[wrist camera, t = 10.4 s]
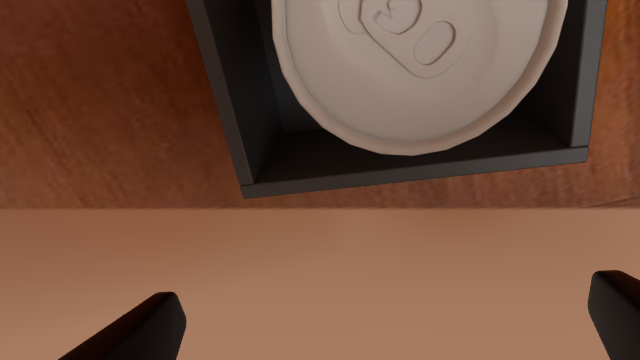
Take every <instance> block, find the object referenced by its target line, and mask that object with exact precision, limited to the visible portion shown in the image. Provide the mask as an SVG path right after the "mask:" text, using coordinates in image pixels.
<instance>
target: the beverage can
mask: <svg viewBox="0 0 640 360" xmlns="http://www.w3.org/2000/svg"><path fill="white" fill-rule="evenodd" d="M271 4H272V33H273V41H274V45H275V48H276V52H277V55H278V59H279V63H280V66H281V70H282V73H283V75H284V77H285V79H286V80H287V82H288V84H289V86H290V87H291V89H292V91H293V93H294V95H295V96H296V98H297V100H298V102H299V103H300V104H301V105H302V106H303V108H304V109H305V110H306V111H307V112H308V113H309V114H310V115H311V116H312V117H313V118H314V119H315V120H316V121H317V122H318V123H319V124H320V125H321V126H322V127H323V128H324V129H326V130H328V131H329V132H331V133H332V134H334V135H336V136H337V137H339V138H341V139H342V140H344V141H345V142H347V143H349V144H351V145H354V146H357V147H360V148H363V149H367V150H370V151H373V152H376V153H379V154H392V155H410V156H414V155H420V154H425V153H431V152H437V151H442V150H447V149H449V148H452V147H454V146H456V145H459V144H461V143H463V142H466V141H468V140H470V139H472V138H475V137H477V136H479V135H481V134H482V133H483V132H485V131H486V130H488V129H489V128H490V127H492V126H493V125H495V124H496V123H497V122H499V121H500V120H501V119H503V118H504V117H506V116H507V115H508V114H510V113H511V111H512V110H513V109H514V108H515V107H516V106H517V105H518V104H519V102H520V101H521V100H522V99H523V98H524V97H525V96H526V94H527V93H528V92H529V91H530V90H531V89H532V88H533V87H534V85H535V84H536V83H537V81H538V79H539V77H540V75H541V74H542V72H543V70H544V68H545V66H546V65H547V63H548V61H549V59H550V57H551V56H552V54H553V52H554V50H555V48H556V46H557V42H558V39H559V35H560V31H561V28H562V24H563V20H564V17H565V13H566V9H567V6H568V0H271Z"/></svg>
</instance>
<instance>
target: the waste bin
mask: <svg viewBox="0 0 640 360" xmlns="http://www.w3.org/2000/svg"><path fill="white" fill-rule="evenodd" d="M607 1H608V0H568V6H567V9H566V13H565V17H564V20H563V24H562V28H561V31H560V35H559V39H558V42H557V46H556V48H555V50H554V52H553V54H552V56H551V57H550V59H549V61H548V63H547V65H546V66H545V68H544V70H543V72H542V74H541V75H540V77H539V79H538V81H537V83H536V84H535V85H534V87H533V88H532V89H531V90H530V91H529V92H528V93H527V94H526V96H525V97H524V98H523V99H522V100H521V101H520V102H519V104H518V105H517V106H516V107H515V108H514V109H513V110H512V111H511V113H510V114H508V115H507V116H506V117H504V118H503V119H501V120H500V121H499V122H497V123H496V124H495V125H493V126H492V127H490V128H489V129H488V130H486V131H485V132H483V133H482V134H481V135H479V136H477V137H475V138H472V139H470V140H468V141H466V142H463V143H461V144H459V145H456V146H454V147H452V148H449V149H447V150H442V151H437V152H431V153H425V154H420V155H414V156H410V155H392V154H379V153H376V152H373V151H370V150H367V149H363V148H360V147H357V146H354V145H351V144H349V143H347V142H345V141H344V140H342V139H341V138H339V137H337V136H336V135H334V134H332V133H331V132H329V131H328V130H326V129H324V128H323V127H322V126H321V125H320V124H319V123H318V122H317V121H316V120H315V119H314V118H313V117H312V116H311V115H310V114H309V113H308V112H307V111H306V110H305V109H304V108H303V106H302V105H301V104H300V103H299V102H298V100H297V98H296V96H295V95H294V93H293V91H292V89H291V87H290V86H289V84H288V82H287V80H286V79H285V77H284V75H283V73H282V70H281V66H280V63H279V59H278V55H277V52H276V48H275V45H274V41H273V33H272V4H271V0H186V4H187V7H188V11H189V14H190V18H191V21H192V24H193V28H194V31H195V35H196V38H197V41H198V45H199V48H200V52H201V55H202V58H203V62H204V65H205V69H206V72H207V76H208V79H209V82H210V86H211V89H212V93H213V96H214V99H215V103H216V106H217V110H218V113H219V116H220V120H221V123H222V127H223V130H224V134H225V137H226V140H227V144H228V147H229V151H230V154H231V157H232V161H233V164H234V168H235V171H236V174H237V178H238V181H239V184H240V185H241V186H240V188H241V192H242V195H243V198H244V199H248V198H258V197H267V196H276V195H286V194H295V193H304V192H313V191H323V190H332V189H341V188H351V187H360V186H369V185H378V184H388V183H397V182H406V181H416V180H425V179H434V178H443V177H453V176H462V175H471V174H481V173H490V172H499V171H509V170H518V169H527V168H536V167H546V166H555V165H564V164H574V163H583V162H587V158H588V151H589V147H588V146H587V145H589V143H590V135H591V127H592V119H593V111H594V103H595V96H596V88H597V80H598V72H599V64H600V56H601V48H602V41H603V33H604V25H605V17H606V9H607Z"/></svg>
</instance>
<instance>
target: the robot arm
mask: <svg viewBox="0 0 640 360" xmlns="http://www.w3.org/2000/svg"><path fill="white" fill-rule="evenodd" d="M588 310H589V314H590V316H591V319H592V321H593V323H594V325H595V327H596V329H597V332H598V333H599V336H600V338H601V340H602V342H603V345H604V347H605V349H606V351H607V353H608V355H609V358H610V360H640V280H638V279H636V278H634V277H632V276H630V275H628V274H626V273H624V272H622V271H619V270H608V271H597V272H595V273H594V274H593V276H592V280H591V286H590V292H589V299H588ZM185 329H186V316H185V314H184V311H183V309H182V307H181V304H180V302H179V299H178V296H177V295H176V294H175V293H174V292H159V293H156V294H154V295H152V296H151V297H150V298H148V299H147V300H145V301H144V302H142V303H141V304H139V305H138V306H136V307H135V308H133V309H132V310H131V311H129V312H127V313H126V314H124V315H123V316H122V317H120V318H119V319H117V320H116V321H114V322H113V323H111V324H110V325H108V326H107V327H105V328H104V329H103V330H101V331H99V332H98V333H96V334H95V335H93V336H92V337H91V338H89V339H87V340H86V341H85V342H83V343H82V344H80V345H79V346H77V347H76V348H74V349H73V350H71V351H70V352H68V353H67V354H65V355H64V356H62V357H61V358H59V359H58V360H176V357H177V355H178V351H179V348H180V345H181V341H182V338H183V335H184V332H185Z"/></svg>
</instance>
